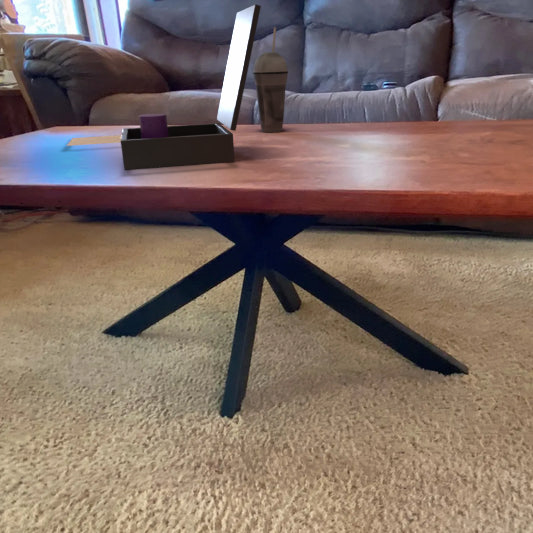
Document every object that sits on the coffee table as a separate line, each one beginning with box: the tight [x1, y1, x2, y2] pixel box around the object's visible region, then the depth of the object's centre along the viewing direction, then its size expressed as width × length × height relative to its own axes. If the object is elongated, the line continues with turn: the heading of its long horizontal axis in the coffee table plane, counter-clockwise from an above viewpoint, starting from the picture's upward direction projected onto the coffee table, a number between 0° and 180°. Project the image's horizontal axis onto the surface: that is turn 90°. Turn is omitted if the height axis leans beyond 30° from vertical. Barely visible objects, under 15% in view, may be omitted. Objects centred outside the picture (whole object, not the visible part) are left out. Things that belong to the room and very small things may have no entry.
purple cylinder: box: [138, 113, 169, 139], centre depth 77 cm, size 4×4×6 cm
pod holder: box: [120, 122, 235, 171], centre depth 78 cm, size 16×14×5 cm
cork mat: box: [66, 134, 122, 147], centre depth 100 cm, size 14×14×1 cm
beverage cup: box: [252, 26, 289, 133], centre depth 105 cm, size 7×7×20 cm
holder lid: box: [216, 3, 262, 132], centre depth 76 cm, size 16×14×1 cm
